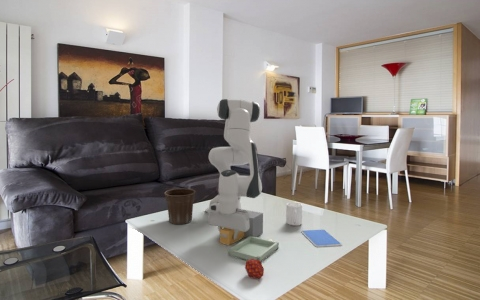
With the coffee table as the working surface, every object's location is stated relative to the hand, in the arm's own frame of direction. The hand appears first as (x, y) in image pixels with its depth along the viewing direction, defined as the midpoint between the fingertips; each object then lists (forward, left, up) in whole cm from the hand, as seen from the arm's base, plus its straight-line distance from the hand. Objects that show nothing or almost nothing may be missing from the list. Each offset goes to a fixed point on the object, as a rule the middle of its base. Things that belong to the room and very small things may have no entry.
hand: (228, 237), depth 144 cm
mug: (+16, +39, -3) cm, 42 cm away
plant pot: (-38, +11, -3) cm, 40 cm away
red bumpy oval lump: (+25, -21, -3) cm, 33 cm away
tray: (+15, -3, -2) cm, 15 cm away
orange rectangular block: (0, +3, -2) cm, 4 cm away
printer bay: (0, +14, -2) cm, 14 cm away
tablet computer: (+34, +27, -3) cm, 43 cm away
